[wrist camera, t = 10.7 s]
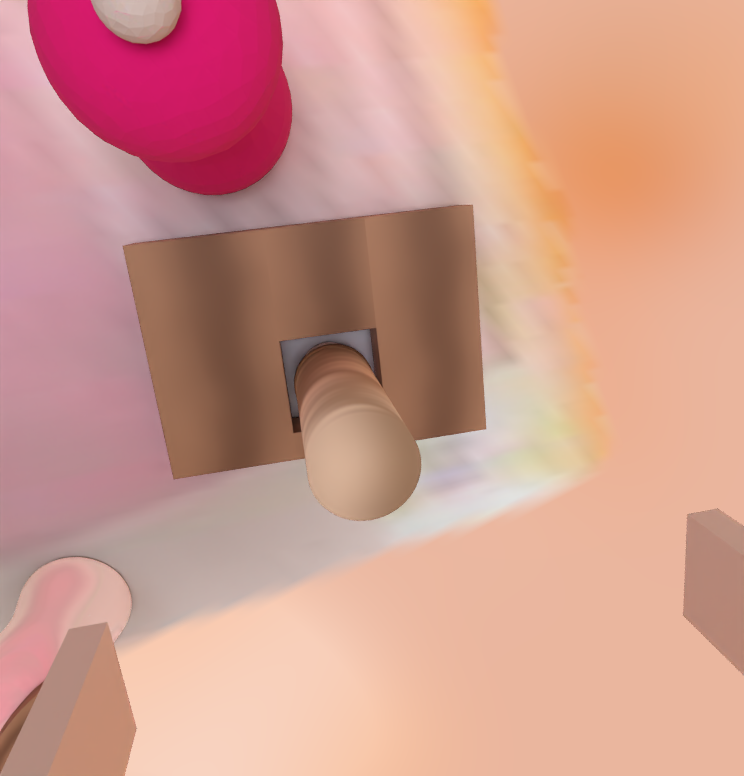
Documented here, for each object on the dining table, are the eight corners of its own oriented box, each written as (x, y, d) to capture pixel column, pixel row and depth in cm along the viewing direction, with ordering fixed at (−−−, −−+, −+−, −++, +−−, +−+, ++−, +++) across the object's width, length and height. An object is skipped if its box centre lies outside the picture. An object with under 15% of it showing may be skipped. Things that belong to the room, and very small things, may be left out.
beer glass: (95, 672, 38) (-10, 948, 24) (-12, 616, 36) (-197, 882, 22) (164, 588, 37) (98, 823, 23) (58, 526, 35) (-85, 742, 21)
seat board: (180, 460, 35) (173, 479, 33) (133, 243, 32) (122, 246, 29) (472, 415, 37) (486, 429, 35) (458, 205, 34) (472, 204, 31)
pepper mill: (243, 10, 30) (196, -337, 11) (314, 156, 32) (378, 81, 13) (107, 79, 30) (-181, -147, 11) (188, 221, 32) (68, 242, 13)
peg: (298, 410, 36) (314, 530, 22) (287, 339, 34) (297, 422, 21) (369, 399, 36) (427, 511, 23) (361, 329, 35) (417, 404, 22)
